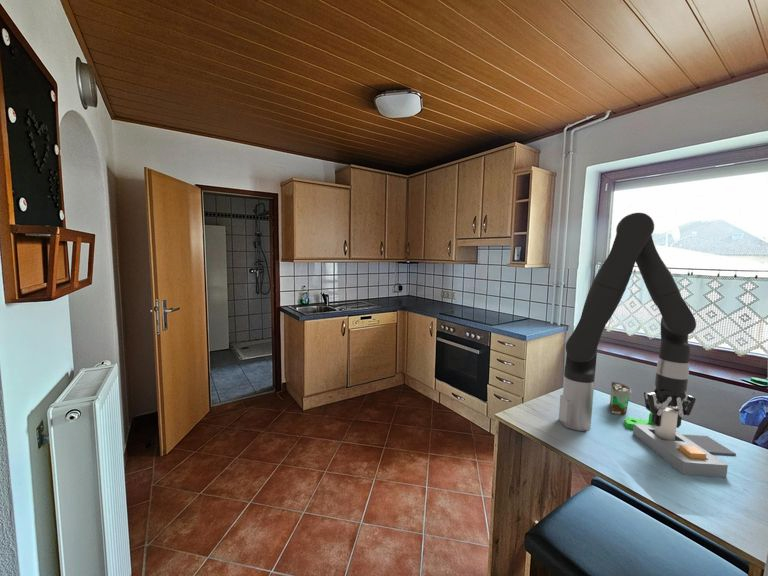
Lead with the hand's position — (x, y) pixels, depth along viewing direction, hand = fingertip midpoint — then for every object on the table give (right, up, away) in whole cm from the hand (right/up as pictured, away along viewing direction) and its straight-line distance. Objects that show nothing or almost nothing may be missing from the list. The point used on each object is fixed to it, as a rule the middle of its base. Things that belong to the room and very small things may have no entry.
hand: (665, 425), depth 104 cm
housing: (0, -7, -3) cm, 8 cm away
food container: (+2, -5, +23) cm, 24 cm away
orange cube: (-1, -7, -9) cm, 12 cm away
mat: (+13, -7, +1) cm, 15 cm away
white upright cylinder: (0, -5, +1) cm, 5 cm away
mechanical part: (+2, -6, +11) cm, 13 cm away
